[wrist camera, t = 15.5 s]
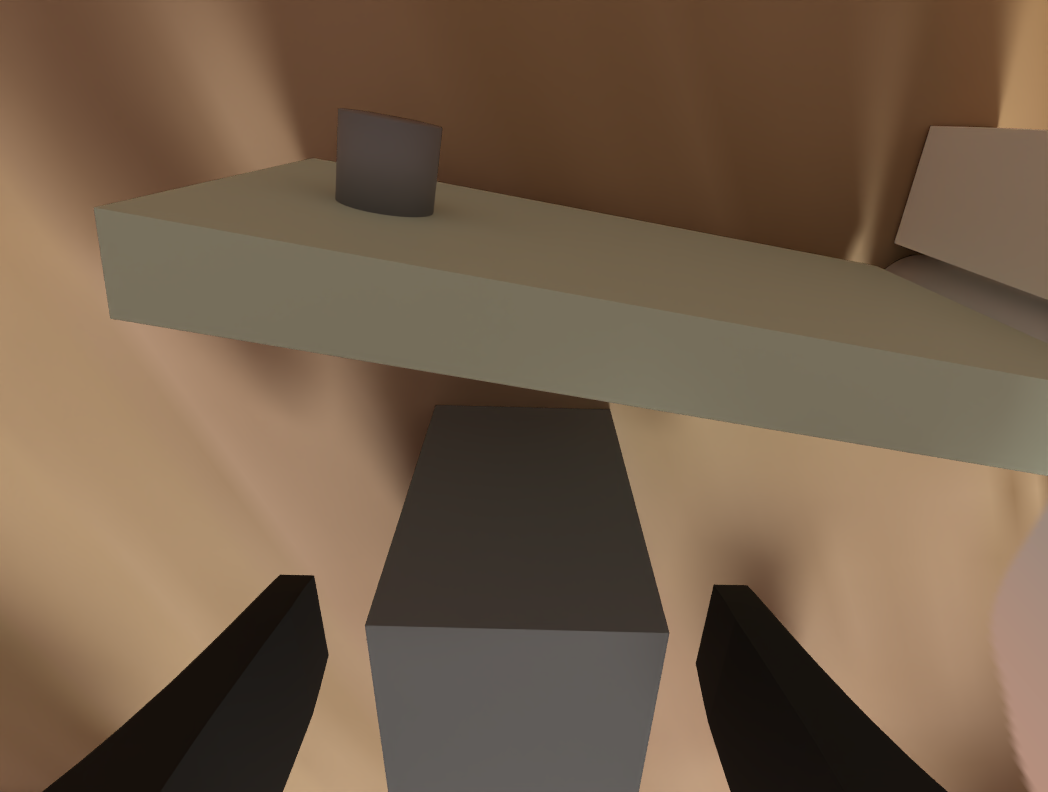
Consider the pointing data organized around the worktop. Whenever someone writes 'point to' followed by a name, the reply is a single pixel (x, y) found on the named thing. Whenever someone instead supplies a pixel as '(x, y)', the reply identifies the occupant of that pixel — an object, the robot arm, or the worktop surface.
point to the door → (571, 302)
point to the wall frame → (982, 223)
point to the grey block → (517, 610)
